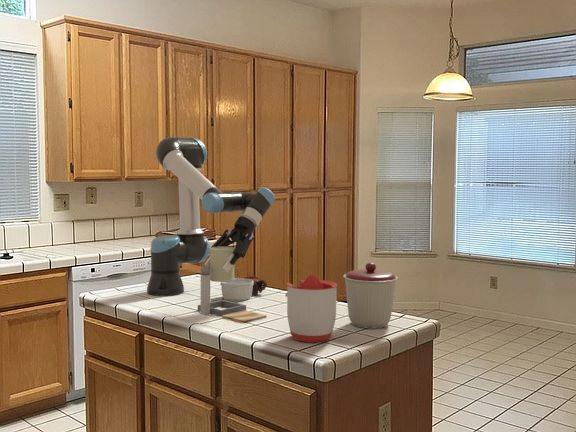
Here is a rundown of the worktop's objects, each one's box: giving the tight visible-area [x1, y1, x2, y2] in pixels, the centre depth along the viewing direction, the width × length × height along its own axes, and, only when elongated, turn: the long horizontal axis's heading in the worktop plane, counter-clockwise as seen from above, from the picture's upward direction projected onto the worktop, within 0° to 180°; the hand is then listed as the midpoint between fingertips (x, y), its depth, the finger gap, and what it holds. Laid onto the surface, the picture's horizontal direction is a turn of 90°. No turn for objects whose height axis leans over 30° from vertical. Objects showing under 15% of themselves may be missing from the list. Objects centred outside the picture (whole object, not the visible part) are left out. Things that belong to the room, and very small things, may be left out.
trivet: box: [221, 310, 267, 324], centre depth 215 cm, size 11×11×1 cm
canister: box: [342, 262, 399, 329], centre depth 206 cm, size 18×18×21 cm
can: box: [209, 246, 236, 283], centre depth 224 cm, size 9×9×12 cm
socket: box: [197, 274, 247, 317], centre depth 223 cm, size 12×15×14 cm
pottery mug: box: [243, 276, 268, 296], centre depth 256 cm, size 12×10×8 cm
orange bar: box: [181, 263, 210, 275], centre depth 223 cm, size 3×16×2 cm, turn 39°
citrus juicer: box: [285, 273, 338, 344], centre depth 190 cm, size 16×17×20 cm
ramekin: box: [220, 277, 254, 302], centre depth 247 cm, size 13×13×7 cm
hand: (215, 268), depth 221 cm, fingers closed on can, 9 cm apart
